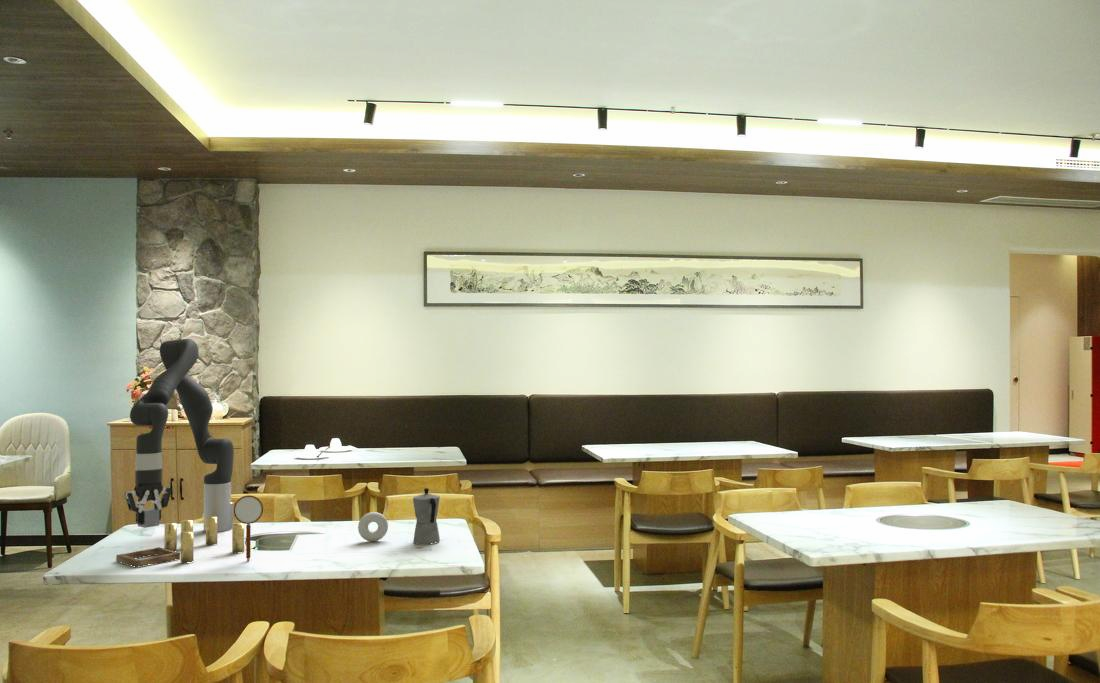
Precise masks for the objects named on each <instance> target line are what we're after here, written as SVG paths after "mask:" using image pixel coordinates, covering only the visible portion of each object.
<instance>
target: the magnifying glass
mask: <svg viewBox="0 0 1100 683" xmlns="http://www.w3.org/2000/svg"><path fill="white" fill-rule="evenodd" d="M263 512H264V504H263V502H262V501H261V500H260V499H259V498H258V496H255V495H250V494H249V495H244V496H242V497H239V499H237V501H236V502H235V504H234V505H233V516H234V517H235V519H236V520H237V521H238V522H239V523H244V525H246V526H245V527H246V528H245V529H246V534H245V537H246V540H245V541H246V542H245V545H246V546H245V547H246V548H245V549H246V550H245V551H246V554H245V557H246V561H247V562H249V561H250V558H251V529H252V528H251V524H254V523H255V522H258V520H260V519H261V518H262V515H263Z"/></svg>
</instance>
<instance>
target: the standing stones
mask: <svg viewBox="0 0 1100 683" xmlns="http://www.w3.org/2000/svg"><path fill="white" fill-rule="evenodd" d="M231 530H232V531H231V535H232V536H231V538H232V539H231V542H232V543H231V545H232V546H231V551H232V552H235V553H234V554H239V553H238V552H242V553H244V552H245V523H242V522H233V524H232V529H231ZM194 534H195V533H194V520H193V519H183V520H180V563H181V562H182V563H187V562H192V561H193V562H194V546H195V544H194V542H195V540H194V538H195V536H194ZM163 535H164V537H163V538H164V541H163V542H164V545H163V546H164V547H163V548H164V549H168V550H171V551H177V550H178V544H177V542H178V536H177V535H178V523H177V522H167V523H164V534H163ZM206 544H207V545H206ZM212 544H216V545H218V532H217V516H210V517H206V532H205V545H206V546H213V545H212ZM177 552H178V551H177ZM193 562H192V563H193ZM182 563H181V564H182ZM187 564H188V563H187Z"/></svg>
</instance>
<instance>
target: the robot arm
mask: <svg viewBox="0 0 1100 683" xmlns="http://www.w3.org/2000/svg"><path fill="white" fill-rule="evenodd" d="M199 353H200V352H199V347H198V344H197V343H196V341H195V340H193V339H192V338H181V339H171V340H166V341H164V342H162V343H161V344H160V346H159V356H160V359H161V363H162V364H163V366H164V369H165V370H164V371H163V372H161V373H160V374H159V375H157V377H156V378H155V379H153V381H152V382H151V385H150V386H149V388H148V390H147V392H146V393H145V394H143V395H142V396H141V398H139V399H138V400H137V401H136V402H135V403H134V404H133V406H132V407H131V409H130V412H129V419H130V421H131V423H132V424H133V425H135V426H139V427H149V426H150V427H151V426H152V428H151V430H150V431H149V432H145V433H141V434H139V435H137V437H136V447H135V449H136V450H135V451H136V454H135V455H136V456H135V462H134V463H135V464H134V465H135V466H134V467H135V469H134V472H135V473H134V476H135V477H134V478H135V479H134V482H135V487H134V488H133V490H131V491H126V492H125V493H124V497H125V502H126V504H127V507H128V510H129V511H131V512H135V523H137V526H138V525H142V524H143V513H142V511H143V509H144V507H145V505H146V503H147V502H149V501H151V503H152V505H153V508H156V509H159V521H161V519H162V509H163V508H167V507H168V505H169V502H170V498H171V495H172V491H173V488H172V487H166V486H163V483H162V482H163V456H162V455H163V454H162V449H163V448H162V446H163V444H162V442H163V435H164V431H165V428H166V424H167V422H168V418H169V410H168V407H167V405H168V404H169V403H170V401H171V399H172V396H173V395H174V393H175V391H176V392H177V396H178V398H179V400H180V403H181V407H182V409H183V412H184V414H185V416H186V419H187V420H188V424H189V426H190V429H191V432H192V435H193V439H194V443H195V446H196V447H195V448H196V449H197V450H196V451H197V453H198V457H199V459H200V460H201V462H202V463H204V464H207V465H208V464H209V465H216V469H215V470H214V471H212V472H211V473H208V474H205V475H204V477H203V532H205V531H206V517H210V516H217V533H219V532H225V531H226V532H227V531H230V530H232V524H234V502H232V476H233V471H234V469H233V468H234V457H235V456H234V453H235V452H234V444H233V443H232V441H231V440H230V439H229V438H212V436H211V435H210V431H209V423H210V421H211V418H212V415H213V411H214V410H213V409H214V408H213V403H212V402H211V399H210V396H209V394H208V392H207V390H206V389H205V388H204V387H203V386H202V385H201V384H200V383H198V382H197V381H195V380H194V379H193V378H192V377H191V376H190V375H188V373H189V372H190V370H191V369H192V368H193V366H194V365H195V364H196V363H197V362H198V359H199ZM161 493H162V497H161V498H160V494H161ZM135 495H136V496H137V499H136V501H135ZM135 502H136V503H135Z"/></svg>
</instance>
